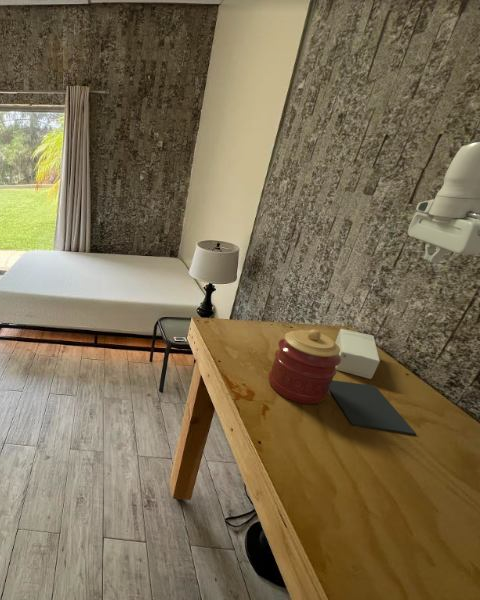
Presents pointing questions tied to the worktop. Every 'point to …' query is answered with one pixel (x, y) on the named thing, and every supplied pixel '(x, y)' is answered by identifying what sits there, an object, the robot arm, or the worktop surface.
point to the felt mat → (368, 407)
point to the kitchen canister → (304, 366)
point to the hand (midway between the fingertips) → (430, 261)
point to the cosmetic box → (357, 353)
